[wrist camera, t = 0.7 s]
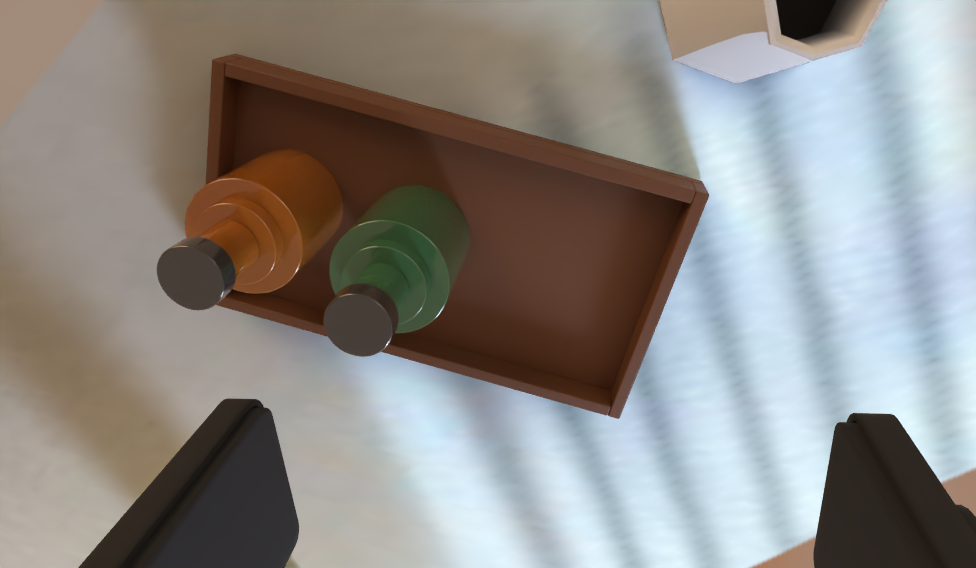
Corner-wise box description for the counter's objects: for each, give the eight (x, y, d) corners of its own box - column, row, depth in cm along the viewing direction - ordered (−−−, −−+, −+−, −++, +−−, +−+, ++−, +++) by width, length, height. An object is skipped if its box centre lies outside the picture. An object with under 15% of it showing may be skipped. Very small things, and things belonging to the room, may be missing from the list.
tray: (219, 283, 37) (199, 300, 35) (234, 53, 31) (211, 58, 29) (617, 396, 36) (619, 419, 34) (702, 181, 31) (710, 194, 29)
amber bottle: (246, 135, 32) (121, 194, 24) (350, 164, 32) (263, 234, 24) (238, 234, 34) (122, 319, 26) (336, 261, 34) (251, 356, 26)
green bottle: (374, 171, 32) (296, 243, 24) (480, 200, 32) (440, 283, 23) (358, 268, 34) (282, 365, 26) (457, 295, 34) (412, 402, 26)
